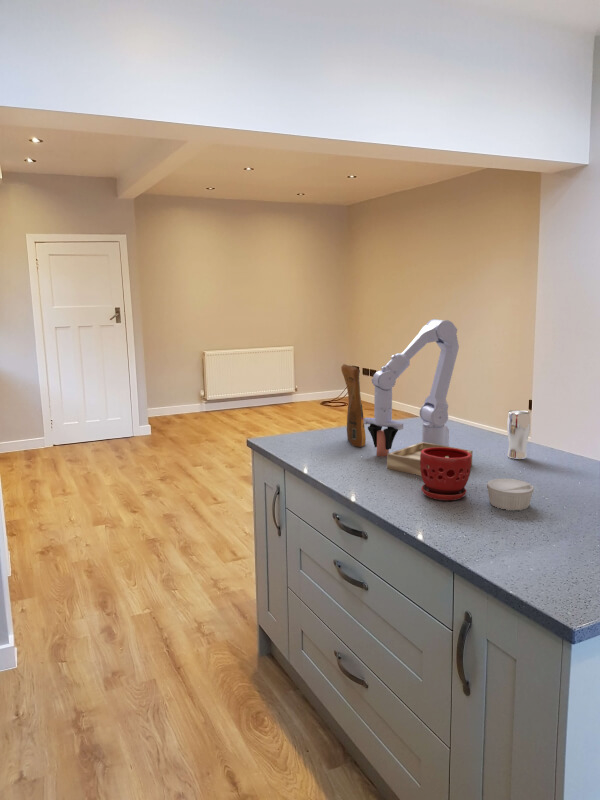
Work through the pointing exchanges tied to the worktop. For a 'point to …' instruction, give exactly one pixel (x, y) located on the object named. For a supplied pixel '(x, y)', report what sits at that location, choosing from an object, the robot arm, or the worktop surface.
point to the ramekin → (509, 493)
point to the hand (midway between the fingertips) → (382, 447)
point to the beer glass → (518, 433)
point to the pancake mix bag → (354, 407)
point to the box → (411, 458)
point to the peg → (381, 444)
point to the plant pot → (445, 472)
